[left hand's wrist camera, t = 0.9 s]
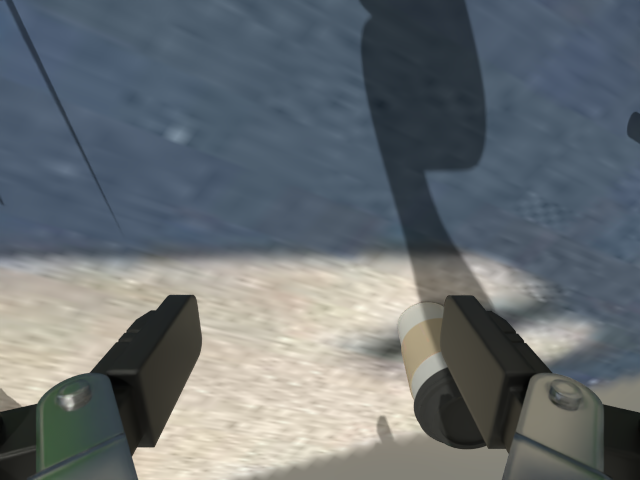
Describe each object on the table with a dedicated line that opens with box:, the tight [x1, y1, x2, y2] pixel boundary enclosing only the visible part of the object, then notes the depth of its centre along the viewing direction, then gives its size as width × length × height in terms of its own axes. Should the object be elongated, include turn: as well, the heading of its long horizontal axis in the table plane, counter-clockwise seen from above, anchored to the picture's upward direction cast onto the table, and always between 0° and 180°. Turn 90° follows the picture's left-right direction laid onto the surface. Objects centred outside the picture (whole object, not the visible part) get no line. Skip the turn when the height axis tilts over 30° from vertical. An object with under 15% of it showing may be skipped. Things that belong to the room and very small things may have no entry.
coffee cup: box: [398, 302, 487, 449], centre depth 37 cm, size 9×9×15 cm
